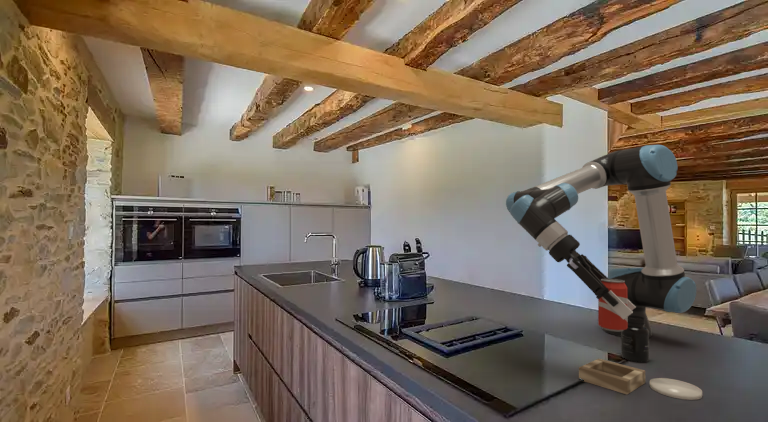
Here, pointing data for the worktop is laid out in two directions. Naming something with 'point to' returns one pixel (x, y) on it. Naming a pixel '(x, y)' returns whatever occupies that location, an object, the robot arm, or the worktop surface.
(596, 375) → the oak holder
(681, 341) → the worktop surface
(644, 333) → the supplement bottle
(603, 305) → the beverage can
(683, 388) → the coaster
